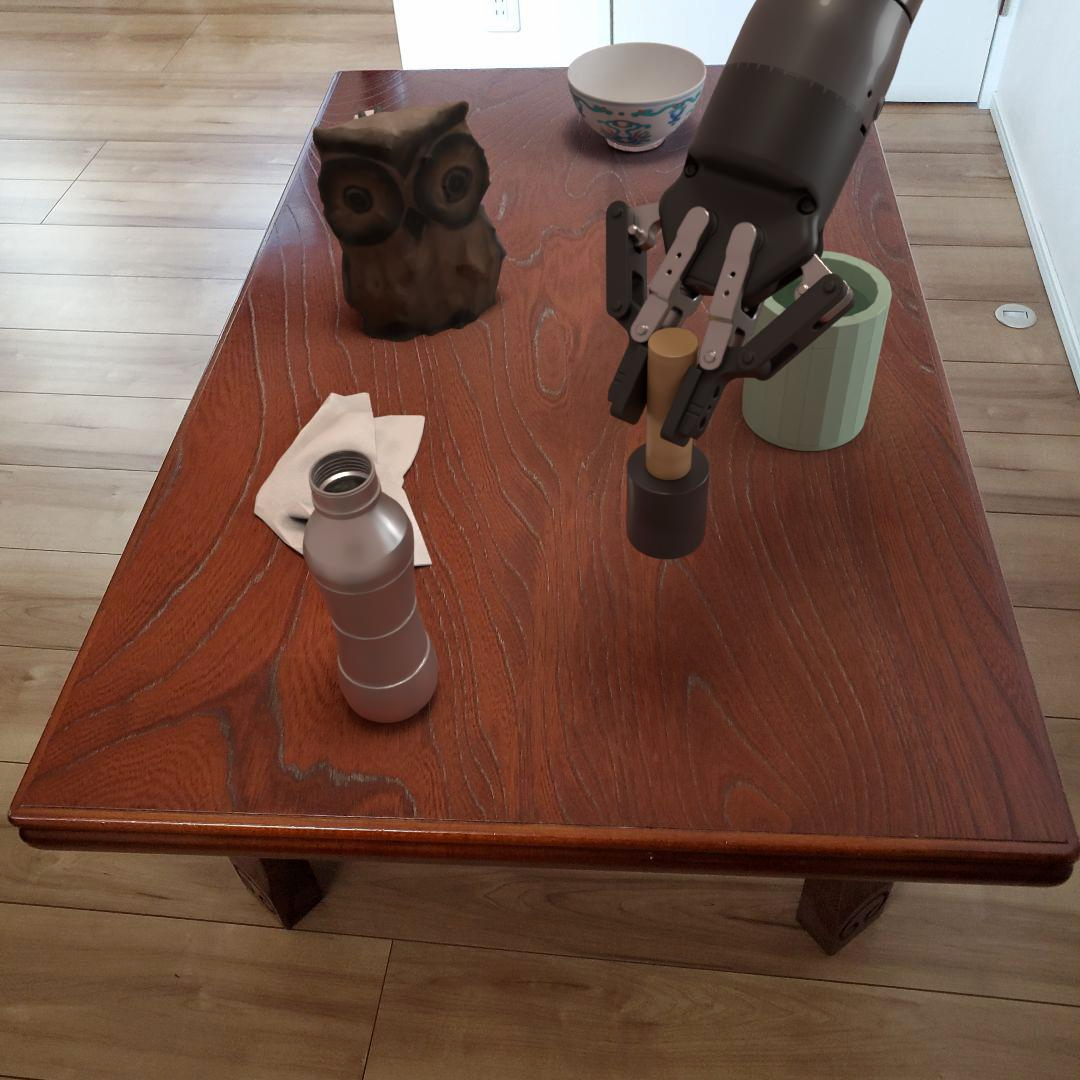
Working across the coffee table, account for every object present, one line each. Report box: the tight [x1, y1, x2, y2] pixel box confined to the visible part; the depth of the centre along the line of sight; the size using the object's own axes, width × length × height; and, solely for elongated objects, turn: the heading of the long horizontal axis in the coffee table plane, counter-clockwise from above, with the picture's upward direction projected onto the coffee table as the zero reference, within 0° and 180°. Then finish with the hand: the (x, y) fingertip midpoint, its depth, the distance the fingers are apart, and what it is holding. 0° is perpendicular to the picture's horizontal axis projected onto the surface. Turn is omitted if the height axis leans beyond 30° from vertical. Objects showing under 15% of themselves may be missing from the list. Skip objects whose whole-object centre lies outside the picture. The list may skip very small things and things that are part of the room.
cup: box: [741, 250, 893, 452], centre depth 88 cm, size 10×10×12 cm
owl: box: [312, 100, 508, 342], centre depth 98 cm, size 13×13×20 cm
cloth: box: [253, 392, 433, 567], centre depth 87 cm, size 26×14×2 cm, turn 4°
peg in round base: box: [625, 327, 711, 560], centre depth 58 cm, size 4×4×13 cm
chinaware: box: [566, 41, 707, 147], centre depth 123 cm, size 15×15×8 cm
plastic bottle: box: [302, 449, 439, 724], centre depth 67 cm, size 6×7×20 cm
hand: (647, 430), depth 55 cm, fingers closed on peg in round base, 2 cm apart
